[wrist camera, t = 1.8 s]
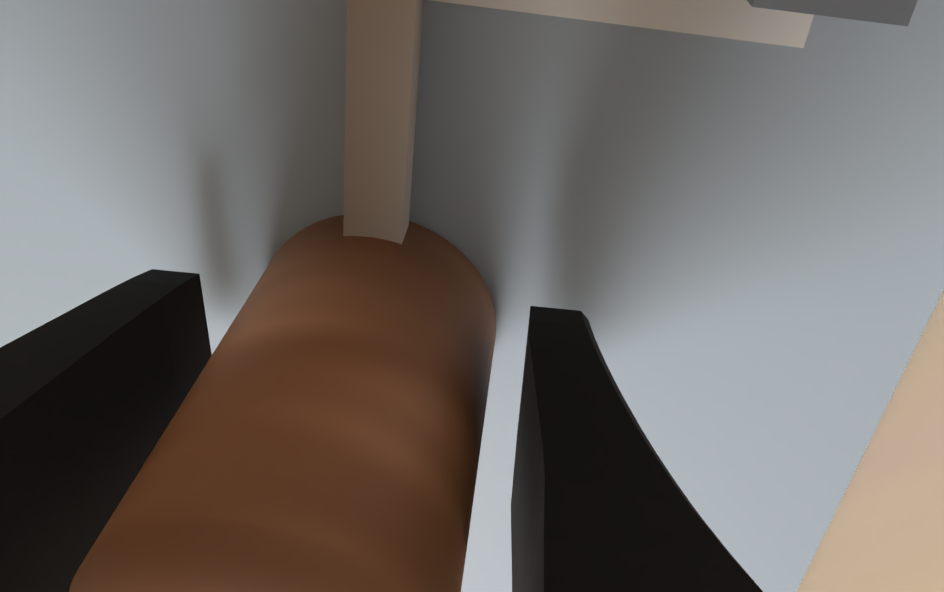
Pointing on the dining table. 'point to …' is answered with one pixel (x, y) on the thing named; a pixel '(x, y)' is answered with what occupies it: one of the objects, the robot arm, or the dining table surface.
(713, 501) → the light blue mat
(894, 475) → the dining table surface
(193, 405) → the brown block on rod
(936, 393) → the dining table surface
